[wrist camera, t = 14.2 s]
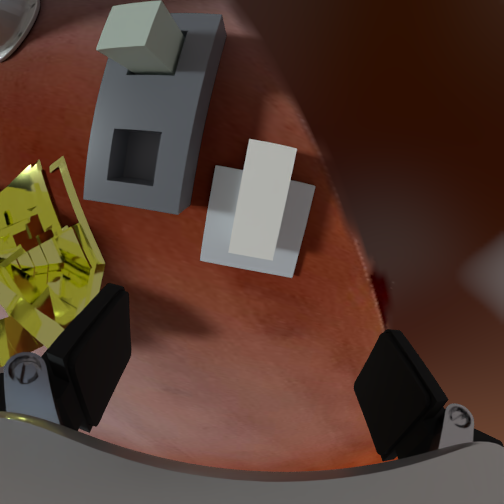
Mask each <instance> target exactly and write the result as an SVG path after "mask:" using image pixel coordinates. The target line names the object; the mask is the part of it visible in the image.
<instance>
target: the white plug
mask: <svg viewBox="0 0 504 504" xmlns="http://www.w3.org/2000/svg"><path fill="white" fill-rule="evenodd" d="M296 151H297V148H292V147H288V146H283V145H279V144H274V143H269V142H264V141H259V140H253V139H249V143H248V148H247V153H246V158H245V164H244V169H243V174H242V179H241V184H240V190H239V195H238V201H237V206H236V212H235V217H234V223H233V228H232V234H231V240H230V245H229V251H228V253H233V254H239V255H244V256H250V257H255V258H261V259H266V260H272V261H273V257H274V253H275V248H276V244H277V239H278V235H279V231H280V226H281V222H282V217H283V213H284V208H285V203H286V199H287V194H288V190H289V185H290V180H291V175H292V171H293V166H294V161H295V156H296Z"/></svg>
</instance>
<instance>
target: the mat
mask: <svg viewBox="0 0 504 504" xmlns="http://www.w3.org/2000/svg"><path fill="white" fill-rule="evenodd" d="M242 174H243V170H240V169H235V168H229V167H223V166H218V165H216V166H215V171H214V177H213V182H212V188H211V194H210V199H209V205H208V211H207V217H206V224H205V230H204V236H203V243H202V250H201V257H200V261H205V262H210V263H215V264H221V265H226V266H231V267H236V268H242V269H247V270H252V271H258V272H263V273H269V274H274V275H280V276H285V277H291V278H292V277H293V273H294V269H295V266H296V262H297V258H298V254H299V251H300V247H301V243H302V239H303V235H304V231H305V227H306V224H307V220H308V215H309V211H310V207H311V203H312V199H313V195H314V191H315V186H314V185H310V184H306V183H302V182H297V181H293V180H290V185H289V190H288V194H287V199H286V203H285V208H284V213H283V217H282V222H281V226H280V231H279V235H278V239H277V244H276V248H275V253H274V257H273V261H272V260H266V259H261V258H255V257H250V256H244V255H239V254H233V253H228V251H229V245H230V240H231V234H232V228H233V223H234V217H235V212H236V206H237V201H238V195H239V190H240V184H241V179H242Z"/></svg>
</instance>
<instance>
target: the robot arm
mask: <svg viewBox="0 0 504 504" xmlns="http://www.w3.org/2000/svg"><path fill="white" fill-rule="evenodd" d="M39 8H40V0H0V62H2V61H4V60H5V59H6V58H8V57H9V56H10V55H11V54H12V53H13V52H14V51H15V50H16V49H17V48H18V46H19V45H20V44H21V43H22V41H23V40H24V39H25V37H26V36H27V34H28V33H29V31H30V29H31V27H32V26H33V24H34V22H35V20H36V17H37V15H38V12H39ZM130 356H131V338H130V318H129V293H128V292H126V291H125V289H124V287H123V286H119V285H115V284H111V283H108V284H107V285H106V286H105V287H104V288H103V289H102V290H101V291H100V292H99V293H98V294H97V295H96V296H95V297H94V298H93V299H92V300H91V301H90V303H89V304H88V305H87V306H86V307H85V308H84V309H83V310H82V311H81V312H80V313H79V314H78V315H77V316H76V317H75V318H74V319H73V320H72V321H71V323H70V324H69V325H68V326H67V327H66V328H65V329H64V331H63V332H62V333H61V334H60V335H59V336H58V337H57V339H56V340H55V341H54V342H53V343H52V345H51V346H50V347H49V348H48V349H47V351H46V352H45V353H44V354H43V355H42V357H40V356H39V355H37V354H35V353H31V352H21V353H17V354H15V355H13V356H12V357H11V358H10V359H9V360H8V361H7V362H6V364H5V366H4V373H0V504H504V448H503V447H504V446H503V444H502V442H501V441H500V440H497V439H495V438H493V437H491V436H489V435H487V434H485V433H483V432H481V431H478V430H476V429H474V419H473V416H472V414H471V413H470V412H469V410H468V409H467V408H465V407H464V406H462V405H459V404H450V405H449V406H448V407H446V409H444V407H443V406H444V405H445V403H446V402H447V401H448V398H447V397H446V395H445V393H444V392H443V391H442V389H441V387H440V386H439V384H438V383H437V381H436V380H435V378H434V377H433V375H432V374H431V372H430V371H429V370H428V368H427V367H426V365H425V364H424V362H423V361H422V359H421V358H420V357H419V355H418V354H417V353H416V351H415V350H414V348H413V347H412V345H411V344H410V343H409V341H408V340H407V339H406V337H405V336H404V335H403V333H402V332H401V331H400V330H390V329H387V330H385V331H384V333H382V334H380V336H379V338H378V340H377V342H376V344H375V346H374V348H373V350H372V352H371V354H370V356H369V358H368V359H367V361H366V363H365V365H364V367H363V369H362V370H361V372H360V374H359V376H358V377H357V379H356V381H355V383H354V391H355V394H356V396H357V399H358V401H359V404H360V407H361V409H362V412H363V415H364V417H365V420H366V423H367V426H368V428H369V431H370V434H371V437H372V439H373V442H374V445H375V448H376V451H377V453H378V454H380V455H381V458H382V461H387V460H392V459H395V458H396V457H397V456H398V460H394V461H389V462H384V463H379V464H373V465H367V466H360V467H353V468H345V469H336V470H324V471H307V472H263V471H246V470H234V469H224V468H216V467H209V466H202V465H196V464H190V463H184V462H179V461H175V460H170V459H165V458H161V457H157V456H153V455H149V454H145V453H142V452H138V451H134V450H131V449H127V448H124V447H121V446H118V445H115V444H112V443H109V442H106V441H103V440H100V439H97V438H95V437H92V436H89V435H87V434H84V433H81V432H78V429H79V428H80V429H82V430H84V431H87V432H89V433H90V431H91V429H92V426H95V427H96V426H97V425H98V424H99V422H100V420H101V418H102V415H103V413H104V411H105V409H106V407H107V405H108V402H109V400H110V398H111V396H112V394H113V392H114V390H115V388H116V386H117V384H118V382H119V379H120V377H121V375H122V373H123V371H124V369H125V367H126V365H127V363H128V361H129V359H130Z"/></svg>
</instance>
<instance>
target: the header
mask: <svg viewBox="0 0 504 504" xmlns="http://www.w3.org/2000/svg"><path fill="white" fill-rule="evenodd" d="M170 15H171V16H172V18H173V19H174V21H175V23H176V24H177V26H178V27H179V29H180V31H181V32H182V34H183V36H184V37H185V41H184V44H183V48H182V51H181V54H180V58H179V61H178V65H177V69H176V72H175V76H169V75H136V74H135V73H133V72H131V71H130V70H128V69H127V68H125V67H124V66H122V65H120V64H119V63H117V62H115V61H114V60H112V59H111V58H108V61H107V64H106V68H105V71H104V75H103V79H102V82H101V86H100V90H99V95H98V99H97V103H96V108H95V113H94V118H93V123H92V129H91V135H90V141H89V148H88V155H87V164H86V173H85V184H84V198H83V199H86V200H93V201H99V202H106V203H112V204H118V205H124V206H130V207H136V208H142V209H148V210H154V211H160V212H166V213H171V214H177V215H178V214H179V213H181V212H182V211H183V210H184V209H186V208H187V207H188V206H190V203H191V197H192V191H193V185H194V179H195V173H196V167H197V162H198V156H199V151H200V146H201V140H202V135H203V131H204V126H205V121H206V116H207V112H208V107H209V103H210V98H211V94H212V90H213V86H214V81H215V77H216V73H217V69H218V66H219V62H220V58H221V54H222V51H223V47H224V43H225V40H226V36H227V35H226V31H225V26H224V22H223V17H222V15H220V14H203V13H170Z"/></svg>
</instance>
